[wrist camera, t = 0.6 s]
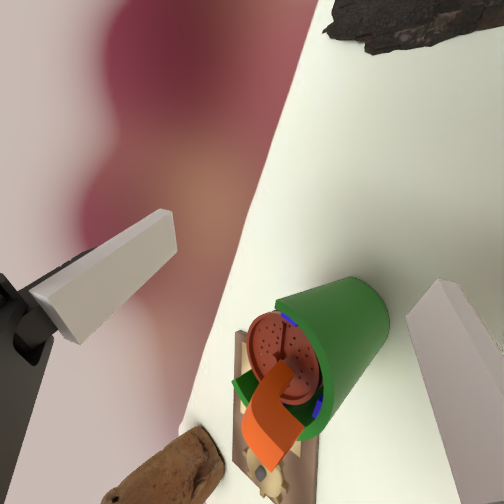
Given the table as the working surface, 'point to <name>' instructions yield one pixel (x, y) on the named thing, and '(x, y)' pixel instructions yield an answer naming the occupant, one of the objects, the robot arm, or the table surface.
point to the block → (173, 474)
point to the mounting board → (290, 467)
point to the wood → (410, 21)
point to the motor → (307, 363)
